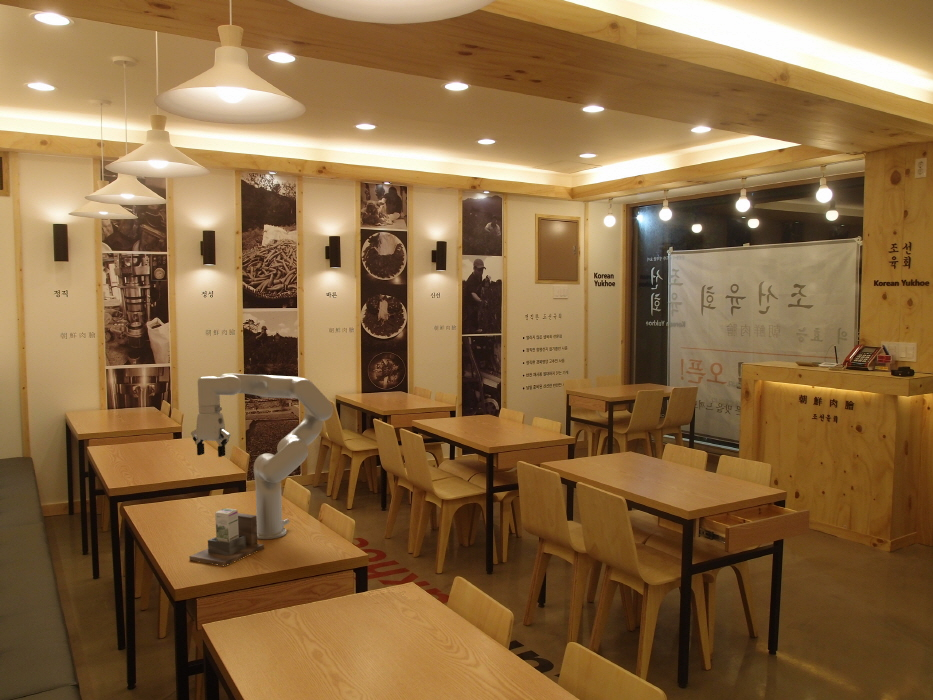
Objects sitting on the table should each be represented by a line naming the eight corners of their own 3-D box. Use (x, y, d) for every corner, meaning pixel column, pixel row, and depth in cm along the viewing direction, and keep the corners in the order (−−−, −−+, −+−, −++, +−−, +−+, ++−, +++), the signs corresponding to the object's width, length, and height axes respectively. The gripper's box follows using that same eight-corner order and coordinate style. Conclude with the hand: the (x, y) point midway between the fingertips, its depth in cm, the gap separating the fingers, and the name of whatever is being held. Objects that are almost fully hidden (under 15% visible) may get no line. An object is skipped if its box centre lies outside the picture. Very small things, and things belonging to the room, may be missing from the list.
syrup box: (240, 548, 264) (238, 508, 263) (229, 553, 258) (227, 513, 257) (227, 546, 266) (225, 507, 265) (216, 552, 260) (214, 511, 259)
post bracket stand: (230, 543, 275) (229, 511, 274) (264, 548, 268) (262, 516, 267) (189, 560, 256) (188, 526, 256) (224, 566, 250) (223, 532, 249)
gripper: (235, 409, 271) (236, 454, 272) (198, 407, 277) (199, 452, 278) (221, 412, 264) (223, 459, 265) (183, 410, 270) (185, 456, 271)
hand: (211, 455), depth 272 cm, fingers open, 9 cm apart
